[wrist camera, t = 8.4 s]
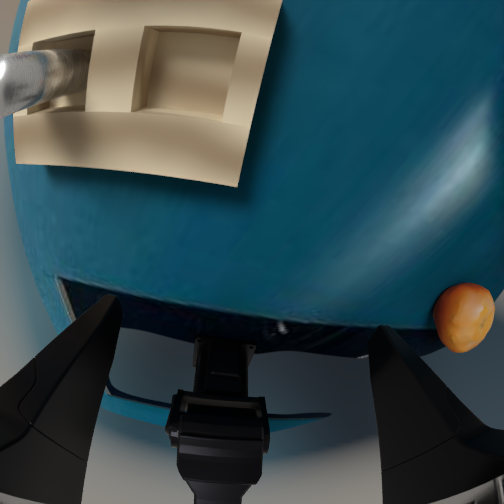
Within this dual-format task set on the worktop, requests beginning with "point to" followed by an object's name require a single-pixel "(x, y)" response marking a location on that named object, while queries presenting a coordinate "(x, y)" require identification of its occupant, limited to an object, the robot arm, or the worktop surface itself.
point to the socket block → (150, 85)
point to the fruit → (463, 316)
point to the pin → (41, 77)
